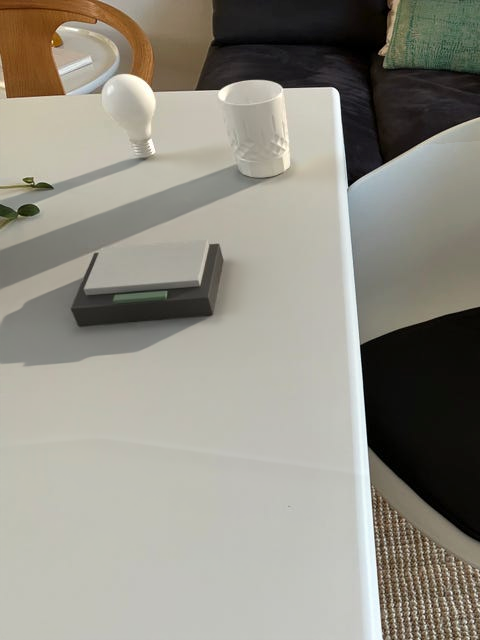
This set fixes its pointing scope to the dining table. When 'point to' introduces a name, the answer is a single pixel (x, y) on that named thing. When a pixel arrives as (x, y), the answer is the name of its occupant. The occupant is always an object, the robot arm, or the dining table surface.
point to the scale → (149, 283)
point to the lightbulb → (131, 110)
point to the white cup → (256, 126)
